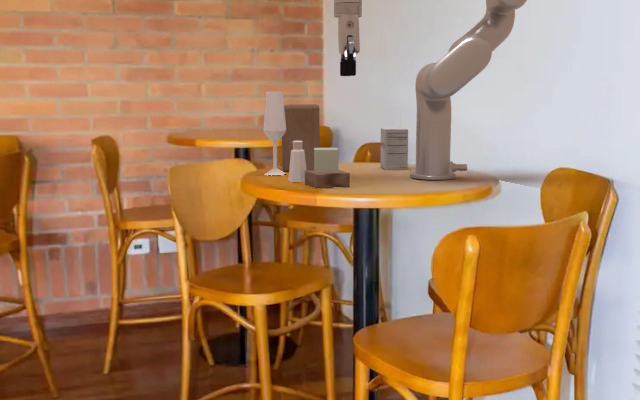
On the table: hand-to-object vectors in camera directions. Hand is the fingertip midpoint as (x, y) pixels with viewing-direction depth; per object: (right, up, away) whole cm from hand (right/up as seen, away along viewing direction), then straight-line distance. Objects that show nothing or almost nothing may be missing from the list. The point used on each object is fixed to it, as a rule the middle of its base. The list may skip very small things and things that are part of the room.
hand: (347, 75), depth 194 cm
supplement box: (+15, -24, +28) cm, 40 cm away
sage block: (-6, -27, -9) cm, 29 cm away
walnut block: (-6, -31, -9) cm, 32 cm away
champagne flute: (-21, -27, +15) cm, 37 cm away
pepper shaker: (-14, -29, 0) cm, 32 cm away
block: (-13, -25, +25) cm, 38 cm away
